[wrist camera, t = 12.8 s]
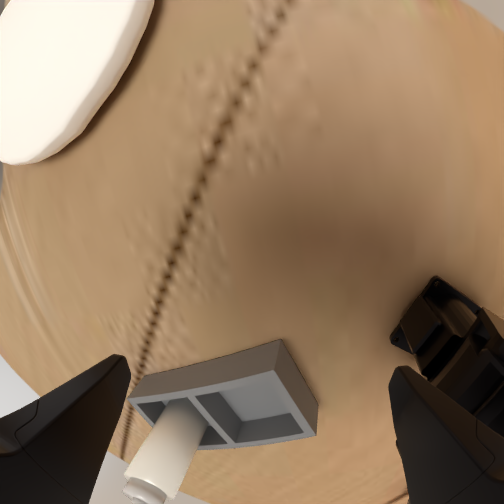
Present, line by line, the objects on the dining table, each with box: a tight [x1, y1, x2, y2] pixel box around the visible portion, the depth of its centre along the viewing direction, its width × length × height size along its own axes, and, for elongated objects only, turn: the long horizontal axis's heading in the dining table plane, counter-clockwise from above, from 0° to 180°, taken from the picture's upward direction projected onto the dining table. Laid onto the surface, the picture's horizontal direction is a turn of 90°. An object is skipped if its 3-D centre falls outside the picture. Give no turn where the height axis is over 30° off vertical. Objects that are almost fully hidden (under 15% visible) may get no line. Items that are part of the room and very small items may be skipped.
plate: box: [0, 0, 155, 165], centre depth 16 cm, size 28×6×27 cm
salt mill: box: [122, 397, 209, 504], centre depth 20 cm, size 5×5×14 cm
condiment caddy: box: [127, 339, 318, 450], centre depth 24 cm, size 16×9×4 cm, turn 118°
